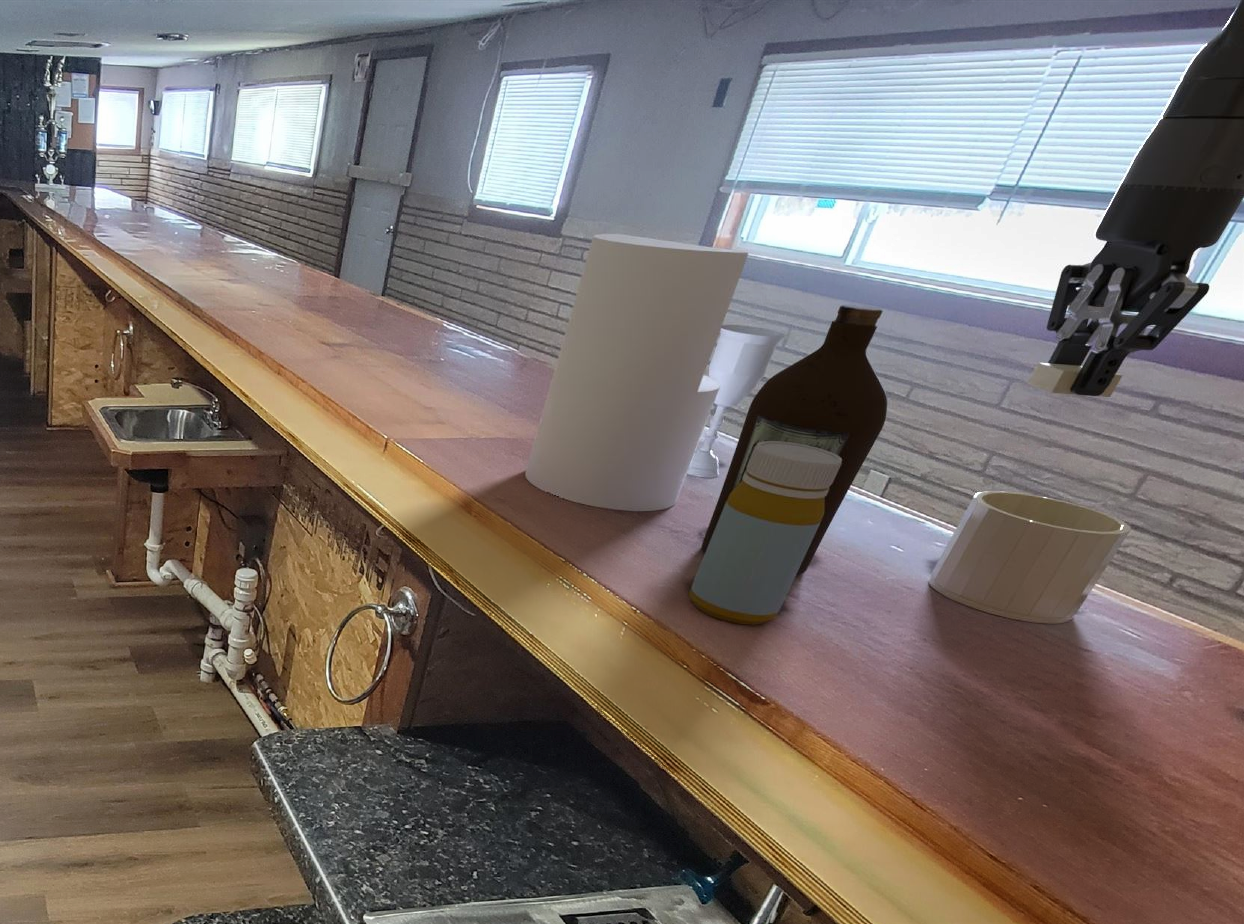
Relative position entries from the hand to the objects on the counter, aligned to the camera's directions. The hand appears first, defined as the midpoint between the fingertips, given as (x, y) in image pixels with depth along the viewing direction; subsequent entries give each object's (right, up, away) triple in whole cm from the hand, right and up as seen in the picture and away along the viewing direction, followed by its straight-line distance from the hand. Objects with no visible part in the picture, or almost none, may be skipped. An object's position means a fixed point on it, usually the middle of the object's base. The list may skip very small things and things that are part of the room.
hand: (1068, 388), depth 84 cm
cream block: (0, 0, 0) cm, 0 cm away
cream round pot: (-2, -19, +4) cm, 20 cm away
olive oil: (-22, -15, +10) cm, 29 cm away
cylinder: (-28, -4, +29) cm, 40 cm away
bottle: (-32, -21, 0) cm, 38 cm away
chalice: (-11, -1, +36) cm, 38 cm away
